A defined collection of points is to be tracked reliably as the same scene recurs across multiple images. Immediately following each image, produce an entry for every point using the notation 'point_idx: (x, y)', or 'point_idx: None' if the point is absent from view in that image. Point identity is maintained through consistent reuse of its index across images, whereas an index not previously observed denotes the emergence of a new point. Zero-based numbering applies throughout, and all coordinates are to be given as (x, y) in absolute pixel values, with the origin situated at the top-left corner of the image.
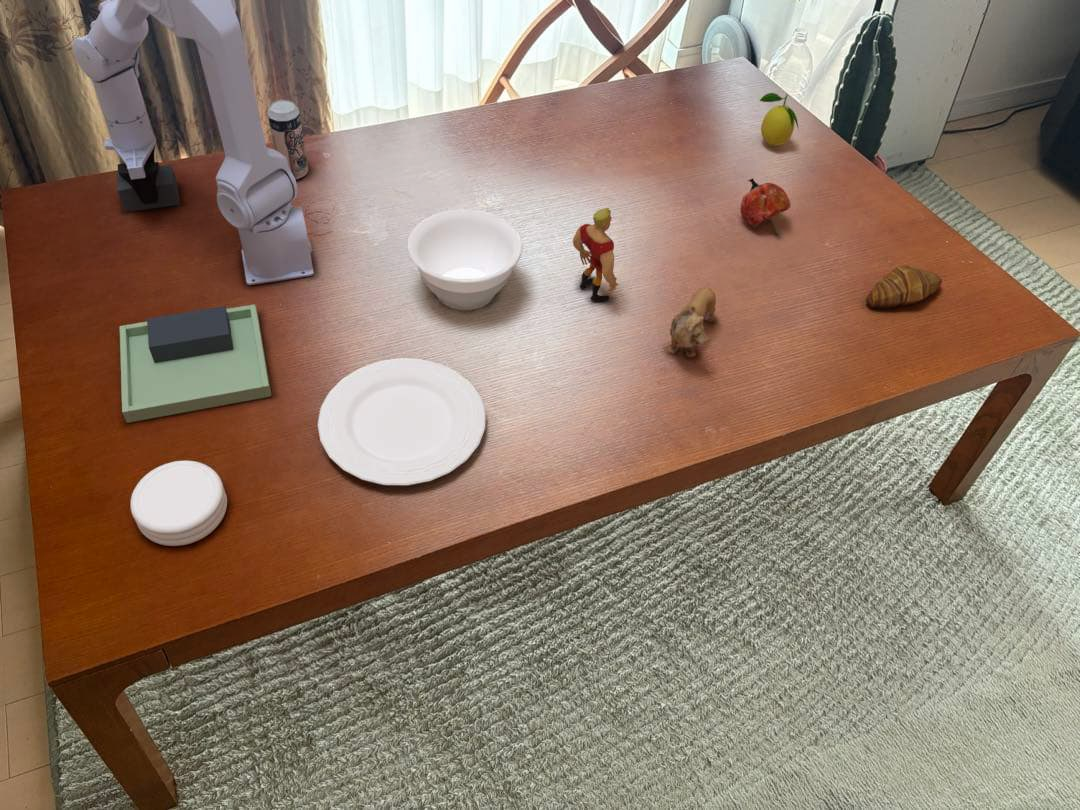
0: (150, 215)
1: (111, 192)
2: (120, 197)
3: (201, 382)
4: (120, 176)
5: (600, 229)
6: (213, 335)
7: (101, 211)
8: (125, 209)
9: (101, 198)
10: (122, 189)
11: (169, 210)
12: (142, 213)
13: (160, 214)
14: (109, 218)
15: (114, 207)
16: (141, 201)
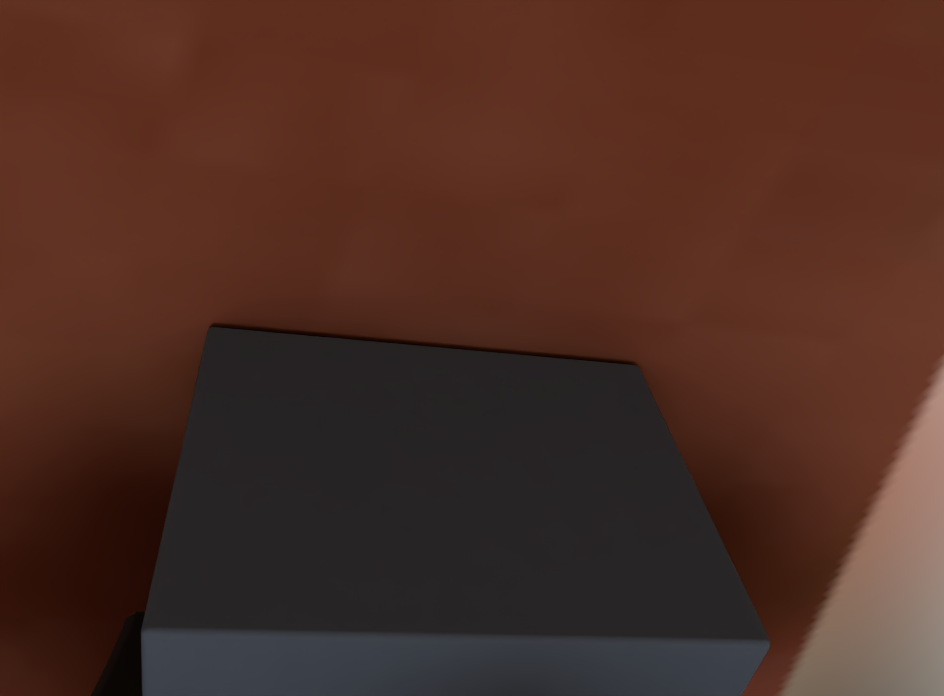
0: (70, 546)
1: (742, 227)
2: (168, 510)
3: None
4: (591, 678)
5: None
6: None
7: (340, 17)
8: (200, 364)
9: (682, 78)
10: (162, 688)
11: None
12: (132, 484)
13: (69, 620)
14: (105, 105)
15: (377, 214)
16: (122, 642)
